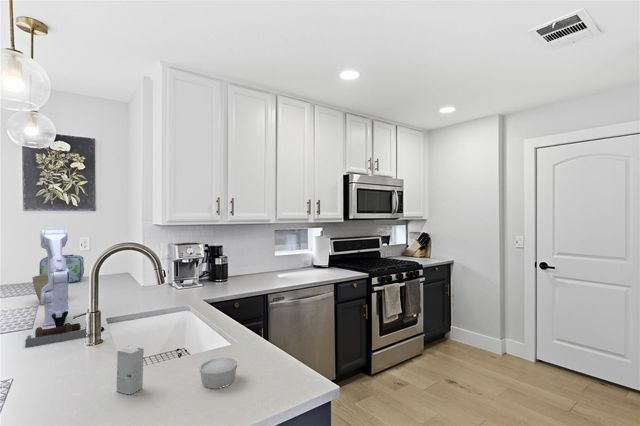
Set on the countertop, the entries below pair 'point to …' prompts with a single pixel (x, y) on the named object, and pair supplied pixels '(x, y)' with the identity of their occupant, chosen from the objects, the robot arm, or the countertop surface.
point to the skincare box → (129, 369)
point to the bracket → (54, 338)
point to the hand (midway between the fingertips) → (60, 329)
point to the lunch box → (73, 265)
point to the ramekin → (218, 372)
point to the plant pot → (40, 284)
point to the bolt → (57, 329)
